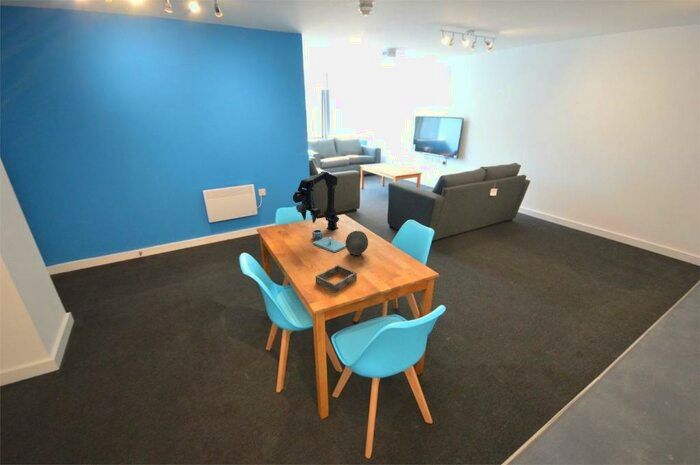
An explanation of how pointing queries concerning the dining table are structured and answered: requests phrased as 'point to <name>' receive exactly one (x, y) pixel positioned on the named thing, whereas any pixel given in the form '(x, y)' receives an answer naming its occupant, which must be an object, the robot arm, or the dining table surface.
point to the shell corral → (339, 285)
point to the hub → (317, 234)
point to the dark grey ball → (356, 242)
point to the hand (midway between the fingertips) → (309, 221)
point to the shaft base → (330, 244)
